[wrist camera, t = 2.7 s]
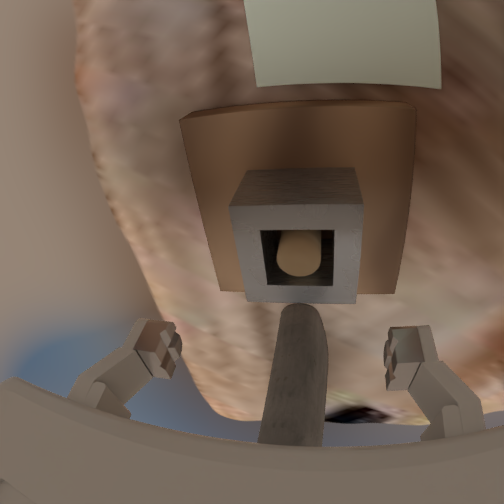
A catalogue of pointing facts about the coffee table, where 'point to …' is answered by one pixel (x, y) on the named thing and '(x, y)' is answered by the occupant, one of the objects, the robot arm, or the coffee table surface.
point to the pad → (345, 42)
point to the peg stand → (307, 156)
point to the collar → (299, 218)
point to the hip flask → (297, 381)
